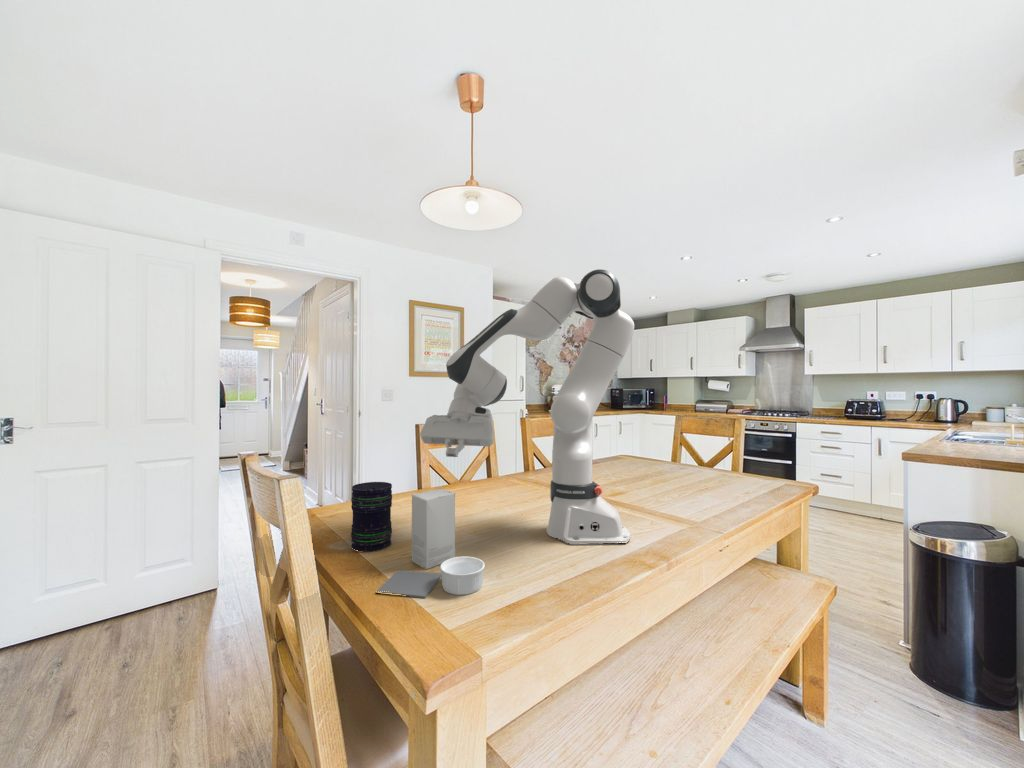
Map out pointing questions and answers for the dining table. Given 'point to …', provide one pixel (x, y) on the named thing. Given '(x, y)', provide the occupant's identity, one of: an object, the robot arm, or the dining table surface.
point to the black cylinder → (371, 516)
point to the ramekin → (462, 575)
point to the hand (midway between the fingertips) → (451, 455)
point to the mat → (411, 583)
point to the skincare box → (433, 527)
